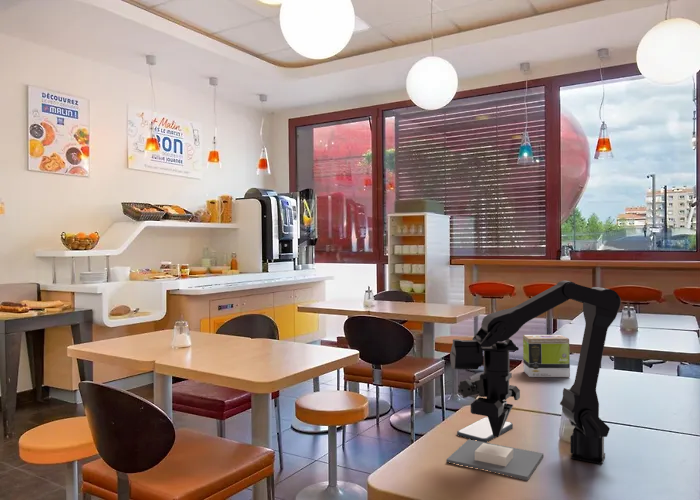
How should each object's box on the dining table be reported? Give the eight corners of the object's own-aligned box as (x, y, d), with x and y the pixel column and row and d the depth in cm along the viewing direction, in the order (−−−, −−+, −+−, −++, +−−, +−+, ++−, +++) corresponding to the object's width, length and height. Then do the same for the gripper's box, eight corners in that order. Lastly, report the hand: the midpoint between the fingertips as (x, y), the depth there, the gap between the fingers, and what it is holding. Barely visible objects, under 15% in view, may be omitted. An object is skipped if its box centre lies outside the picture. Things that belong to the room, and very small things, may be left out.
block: (483, 451, 128) (474, 459, 123) (483, 442, 128) (474, 451, 123) (513, 457, 124) (505, 466, 119) (513, 448, 124) (505, 457, 119)
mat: (543, 456, 127) (543, 453, 127) (527, 480, 114) (527, 476, 114) (468, 442, 136) (468, 439, 136) (446, 462, 123) (446, 459, 123)
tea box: (562, 372, 211) (562, 334, 211) (570, 378, 201) (570, 338, 201) (522, 371, 213) (522, 333, 213) (528, 377, 203) (528, 337, 203)
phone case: (485, 446, 135) (514, 428, 147) (485, 439, 135) (514, 422, 147) (454, 437, 141) (485, 421, 153) (454, 431, 141) (485, 416, 153)
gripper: (476, 358, 138) (475, 419, 138) (448, 372, 122) (448, 442, 122) (520, 363, 132) (520, 427, 132) (497, 379, 116) (497, 452, 116)
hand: (496, 436), depth 126 cm, fingers closed
